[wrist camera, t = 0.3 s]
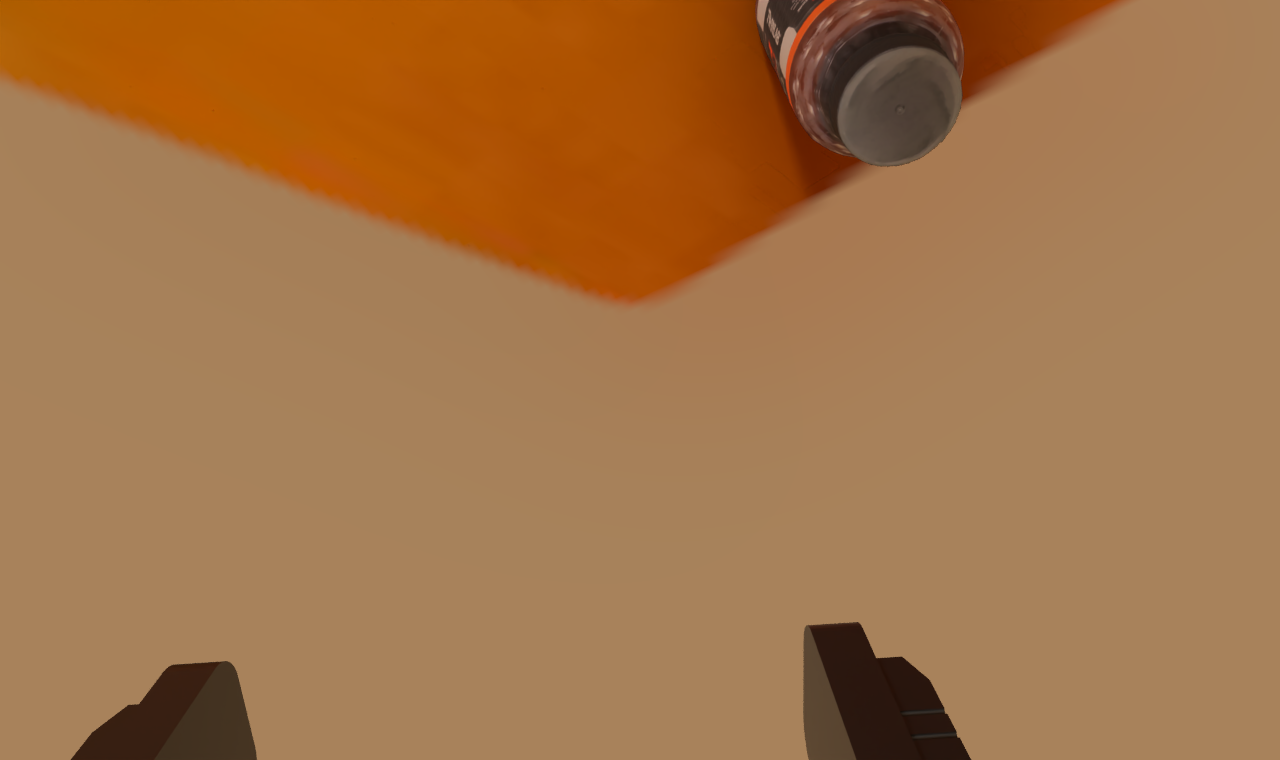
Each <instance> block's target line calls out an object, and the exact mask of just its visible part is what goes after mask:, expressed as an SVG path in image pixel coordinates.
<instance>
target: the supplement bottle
mask: <svg viewBox="0 0 1280 760" xmlns="http://www.w3.org/2000/svg"><path fill="white" fill-rule="evenodd" d="M756 23H757V27H758V31H759V34H760V38H761V42H762V44H763V46H764V48H765V50H766V52H767V55H768V57H769V59H770V61H771V64H772V66H773V68H774V70H775V72H776V74H777V76H778V79H779V80H780V82H781V85H782V87H783V90H784V92H785V94H786V96H787V98H788V101H789V103H790V105H791V107H792V109H793V111H794V113H795V115H796V117H797V119H798V121H799V122H800V124H801V125H802V127H803V128H804V129H805V131H806V132H807V133H808V134H809V135H810V137H811V138H812V139H813V140H815V141H816V142H818V143H819V144H820V145H822V146H824V147H825V148H827V149H829V150H831V151H833V152H835V153H838V154H842V155H844V156H849V157H856V158H858V159H860V160H861V161H864V162H866V163H868V164H871V165H875V166H899V165H903V164H907V163H910V162H912V161H915V160H918V159H920V158H921V157H923V156H925V155H926V154H927V153H929V152H930V151H931V150H933V149H934V148H935V147H936V146H937V145H938V144H939V143H940V142H942V141H943V140H944V139H945V137H946V136H947V134H948V133H949V132H950V131H951V129H952V127H953V126H954V124H955V122H956V119H957V117H958V114H959V111H960V109H961V101H962V87H961V78H962V75H963V66H964V48H963V42H962V37H961V34H960V31H959V28H958V26H957V23H956V21H955V19H954V18H953V16H952V14H951V12H950V11H949V9H948V8H947V7H946V6H945V5H944V3H943V2H942V1H941V0H756Z"/></svg>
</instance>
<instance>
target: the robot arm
mask: <svg viewBox="0 0 1280 760" xmlns="http://www.w3.org/2000/svg"><path fill="white" fill-rule="evenodd" d="M803 713H804V732H805V740H806V747H807V753H808V758H809V760H971V759H970V757H969V755H968V753H967V751H966V749H965V747H964V745H963V743H962V741H961V739H960V738H957V734H956V730H955V728H954V726H953V724H952V722H951V720H950V718H949V716H948V714H945V711H944V707H943V705H942V703H941V701H940V699H939V697H938V695H937V693H936V691H935V690H934V687H933V686H932V684H931V682H930V680H929V679H928V678H927V677H925V676H924V675H923V674H922V673H921V672H919V671H918V670H917V669H916V668H915V667H914V666H912V665H911V664H910V663H909V662H908V661H906V660H905V659H904V658H903V657H890V658H876V657H875V655H874V653H873V650H872V648H871V646H870V644H869V641H868V639H867V637H866V635H865V632H864V630H863V628H862V626H861V625H860V624H859V623H858V622H853V623H838V624H823V625H808V626H806V627H805V631H804V711H803ZM71 760H257V758H256V750H255V745H254V741H253V737H252V733H251V728H250V725H249V720H248V716H247V712H246V708H245V704H244V699H243V695H242V692H241V687H240V683H239V679H238V675H237V672H236V670H235V668H234V666H233V665H232V664H231V663H230V662H227V661H224V662H208V663H193V664H179V665H178V664H177V665H171V666H169V667H168V668H167V669H166V670H165V671H164V672H163V673H162V675H161V676H160V677H159V679H158V680H157V681H156V683H155V684H154V685H153V687H152V688H151V689H150V691H149V692H148V693H147V694H146V696H145V697H144V698H143V700H142V701H141V702H140V704H138V705H128V706H127V707H125V708H124V709H123V710H121V711H120V712H119V713H117V714H116V715H115V716H114V717H112V718H111V719H109V720H108V721H107V722H106V723H104V724H103V725H102V726H100V727H99V728H98V729H96V730H95V731H94V732H92V733H91V735H90V736H89V737H88V739H87V740H86V741H85V742H84V744H83V745H82V746H81V747H80V749H79V750H78V751H77V752H76V754H75V755H74V756H73V758H72V759H71Z"/></svg>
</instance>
